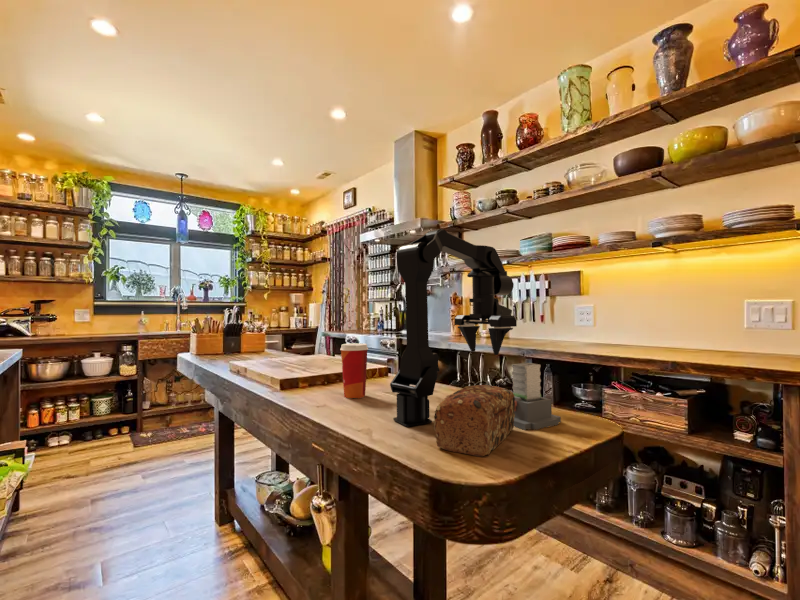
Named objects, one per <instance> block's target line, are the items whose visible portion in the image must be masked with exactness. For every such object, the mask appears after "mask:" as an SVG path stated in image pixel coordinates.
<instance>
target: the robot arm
mask: <svg viewBox="0 0 800 600" xmlns="http://www.w3.org/2000/svg"><path fill="white" fill-rule="evenodd" d="M442 252H443V253H445V254H447V255H450V256H451V257H452V256H453V257H455V258H457V259H459V260H462V261H463V262H464V264H465V266H467V267H468V268H470V269H471V271H469V272H468V274H467V275H466V276H467V278H471V279H472V282H471V283H472V286H471V287H472V298H469V300H468V302H469V303H472V313H469V314H461V315H460V314H459V315H458V314H457V315H456V316H455V317H454V326H457V329H459V330H460V332H461V334H462V336H463V338H464V340H465V341H466V344H467V346H468V347H469V350H470V352H471V353H474V352H476V346H477V332H478V331H479V328H480V327H481V326H480V325H489V326H490V327H488V333H489V338H490V343H491V347H492V351H493V355H495V356H498V355H499V354H500V352H501V351H500V350H501V347H502V344H503V341H504V339H505V337H506V335H507V334H508V333H509V332H510V331H512V330H513V329H514V327H517V323H518V322H517V318H516V316H515V315H512V314H513V310H512V309H511V308H509V307H507V306H504V305H501V304H500V301H499V299H498V297H497V298H496V297H495V296H508V295H509V294H511V293H512V291H513V290H514V286H515V285H514V284H515V283H514V281H513V279H512V278H511V276H509V275H508V271H507V270H506V269H505V268H504V265H503V263H502V260H501V258H500V256H499V253H498V252H497V249H496V248H495V247H493V246H489V245H480V244H473V243H470V242H469V241H466V240H464V239H463V238H460V237H458V236H456V235H454V234H451V233H449V232H448V231H447V230H446V229H443V228H438V229H433V230H430V231H428V232H426V233H425V234H424V235H422V236H420V237H418V238H417V239H416V240H413V241H412V242H410V243H409V244H404V245H402V246H401V247H400V248H398V249H397V252H396V262H397V263H396V264H397V270H398V272H399V273H398V274H399V275H400V276H401V278H402V280H403V282H404V286H405V287H404V289H405V291H404V292H405V295H404V296H405V325H406V326H405V327H406V329H405V330H406V331H405V333H406V347H405V349H404V351H403V352H402V355H401V357H400V360H399V361H400V362H399V370H398V372H397V373H396V374H395V376H394V377H393V379H392V380H391V382H390V383H389V386H390V389H391V392H392V393H394V394H395V393H396V417H395V416H394V417H393V418H392V419H393V421H395V422H396V423H399V424H400V425H403V426H404V427H406V428H408V427H416V426H419V425H420V426H421V425H427V424H430V423H433V420H432V419H430V416H431V415H430V399H429V398H428V397H429V396H433V395H434V391H435V387H436V383H437V380H438V372H440V368H439V354H438V353H437V352H433V351H432V349H431V347H430V345H429V344H430V343H429V309H428V302H429V301H428V281H429V279H430V277H431V275H432V273H433V272H434V267H435V266H434V264H435V259H436V258H437V257H438V256H439V255H441V253H442Z"/></svg>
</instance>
